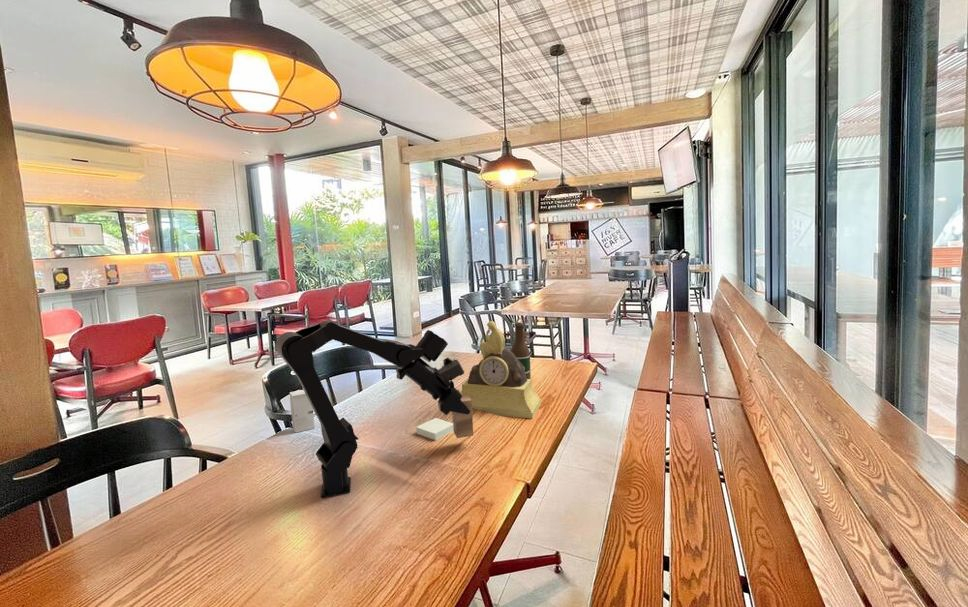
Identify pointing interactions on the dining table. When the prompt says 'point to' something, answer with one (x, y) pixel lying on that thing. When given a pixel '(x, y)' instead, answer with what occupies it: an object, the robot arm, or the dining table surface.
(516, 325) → the beer bottle
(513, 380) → the decorative clock
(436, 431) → the tower top block
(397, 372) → the robot arm
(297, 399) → the skincare box
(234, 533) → the dining table surface
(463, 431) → the walnut pillar
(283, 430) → the dining table surface
